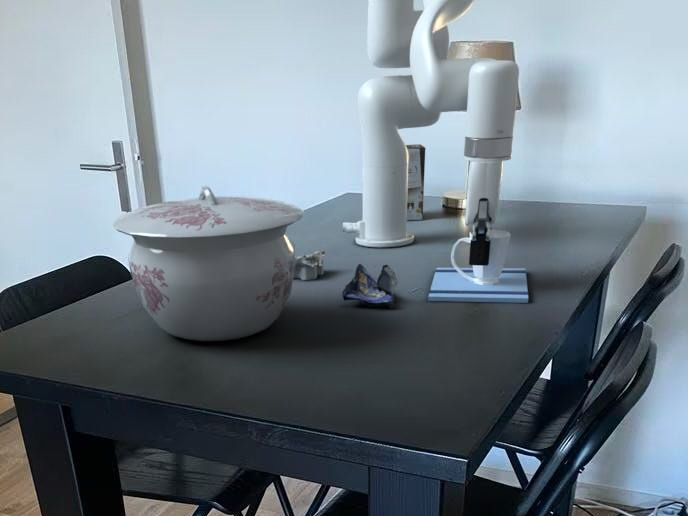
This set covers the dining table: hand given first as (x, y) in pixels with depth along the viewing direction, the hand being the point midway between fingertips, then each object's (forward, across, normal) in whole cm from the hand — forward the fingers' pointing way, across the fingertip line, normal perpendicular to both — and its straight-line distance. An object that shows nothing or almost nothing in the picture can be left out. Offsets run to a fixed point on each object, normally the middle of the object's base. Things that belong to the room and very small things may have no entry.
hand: (479, 257), depth 136 cm
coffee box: (+6, -64, -18) cm, 67 cm away
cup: (+4, 0, 0) cm, 4 cm away
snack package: (+5, +10, -17) cm, 20 cm away
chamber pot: (+5, +28, -38) cm, 48 cm away
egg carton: (+5, -6, -34) cm, 35 cm away
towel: (+5, 0, 0) cm, 5 cm away
